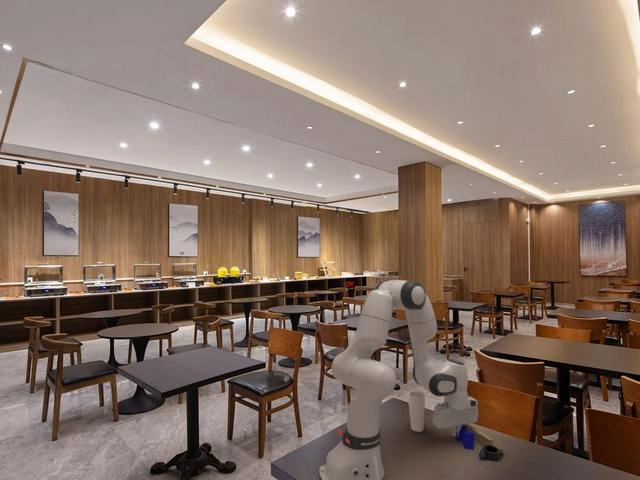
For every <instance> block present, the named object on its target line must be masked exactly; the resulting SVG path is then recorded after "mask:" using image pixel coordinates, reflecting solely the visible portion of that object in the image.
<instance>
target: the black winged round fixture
mask: <svg viewBox="0 0 640 480" xmlns="http://www.w3.org/2000/svg"><path fill="white" fill-rule="evenodd" d="M503 452H504V449H500V448H499V447H497V446H495V445H494V446H492V445H484V446H482V448H481V450H480V451H479V453H478V457H479V458H480V459H482V460H483V459H486V460H487V461H490V462H499V461H500V460H501V453H503Z"/></svg>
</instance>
